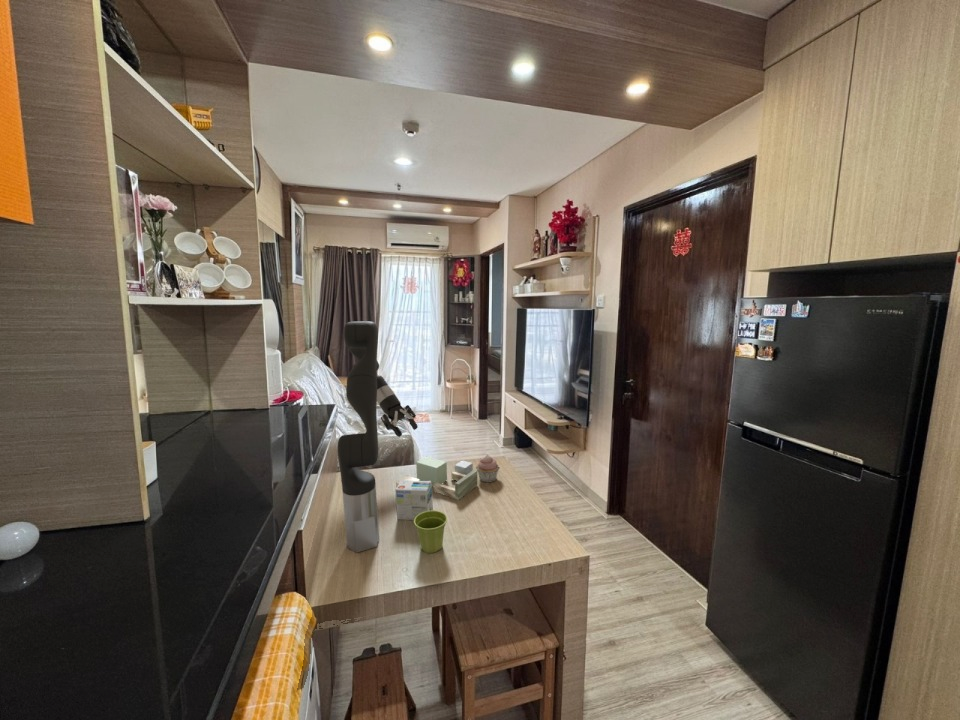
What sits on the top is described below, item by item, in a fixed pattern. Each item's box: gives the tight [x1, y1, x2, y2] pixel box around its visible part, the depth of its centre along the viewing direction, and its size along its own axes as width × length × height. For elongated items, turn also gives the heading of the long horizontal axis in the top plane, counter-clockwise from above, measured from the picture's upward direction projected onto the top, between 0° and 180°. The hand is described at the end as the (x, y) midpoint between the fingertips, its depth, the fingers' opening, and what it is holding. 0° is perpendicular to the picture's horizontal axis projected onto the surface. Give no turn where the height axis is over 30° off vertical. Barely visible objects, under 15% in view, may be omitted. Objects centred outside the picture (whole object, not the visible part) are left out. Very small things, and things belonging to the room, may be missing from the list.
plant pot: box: [413, 510, 448, 554], centre depth 114 cm, size 9×9×9 cm
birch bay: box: [433, 469, 478, 501], centre depth 147 cm, size 11×12×6 cm
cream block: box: [395, 475, 420, 489], centre depth 143 cm, size 6×6×6 cm
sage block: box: [415, 456, 448, 487], centre depth 153 cm, size 10×6×8 cm, turn 57°
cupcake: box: [475, 454, 501, 483], centre depth 154 cm, size 9×9×10 cm
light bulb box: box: [394, 479, 434, 521], centre depth 130 cm, size 11×7×11 cm, turn 84°
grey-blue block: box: [454, 460, 474, 475], centre depth 157 cm, size 5×5×5 cm
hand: (408, 432), depth 157 cm, fingers open, 8 cm apart
